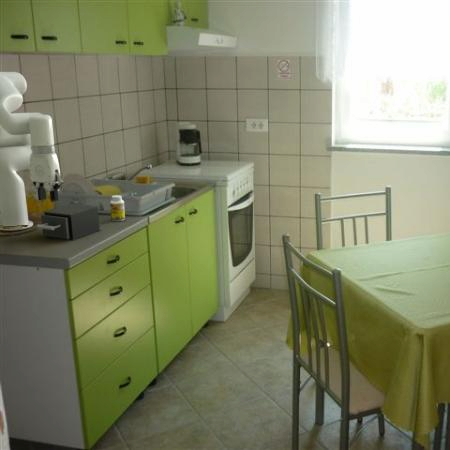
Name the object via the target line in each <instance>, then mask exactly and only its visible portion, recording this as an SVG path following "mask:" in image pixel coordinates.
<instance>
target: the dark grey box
mask: <svg viewBox="0 0 450 450" xmlns="http://www.w3.org/2000/svg"><path fill="white" fill-rule="evenodd" d="M43 213H44V214H43V215H48V214H51V215H59V216H67V217H69V218H70V229H71V236H69V237H70V238H69V239H68V240H70V241H74V240H77V239H80V238H83V237H85V236H88V235H91V234H93V233H97V232H98V231H100V220H99V219H100V217H99V208H98V206H97V205H89V204H88V205H87V204H80V203H69V204H66V205H65V204H64V205H62V206H58V207H54V208H52V209H48V210H44V211H43Z"/></svg>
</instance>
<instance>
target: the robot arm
mask: <svg viewBox="0 0 450 450" xmlns="http://www.w3.org/2000/svg"><path fill="white" fill-rule="evenodd" d="M27 89H28V83H27V80H26V79H25V77H24V75H22V73H20V72H17V71H0V225H3V226H17V225H28V226H27V227H22V228H15V229H3V228H0V231H6V232H7V231H8V232H10V231H11V232H13V231H14V232H15V231H21V230H22V231H23V230H26V229H29V228H32V227H33V226H34V222H33V221H31V220H29V213H28V205H27V196H26V188H25V182H24V180H23V178H22V177H21V176H20V175H19V174H18V173H17V172H22V171H28V170H29V176H30V177H29V181H30V182H31V183H32V184H33V185H34V187H35V190H37V199H38V201H43V200H44V201H45V200H47V190H46V187H45V184H48V185H49V189H50V190H49V198H50V202H51V203H54V202H58V201H59V190H60V187H61V186H62V185H63V184H64V183H65V181H64V179H63V178H62V176H61V169H60V163H59V158H58V156H57V153H56V147H55V137H54V135H55V134H54V126H53V118H52V116H51V115H49V114H45V113H44V114H43V113H42V112H16V113H13V112H15V111H17V110H18V109H19V108H20V107H21V106H22V104H23V102H24V97H23V95H24V94H25V93H26V91H27Z"/></svg>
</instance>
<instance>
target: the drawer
mask: <svg viewBox="0 0 450 450" xmlns="http://www.w3.org/2000/svg"><path fill="white" fill-rule="evenodd" d="M40 219H41V224H37V225H36V228H37V229H40V230H42V236H43V237H49V238H57V239H62V240H69V238H70V237H69V236H71V229H70V218H69V217H67V216H59V215H51V214H48V215H44V214H41V215H40Z"/></svg>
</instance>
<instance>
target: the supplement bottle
mask: <svg viewBox="0 0 450 450" xmlns="http://www.w3.org/2000/svg"><path fill="white" fill-rule="evenodd" d="M109 207H110V208H109V209H110V217H111V218H110V220H111V221H112V222H124V221H125V220H126V210H125V201H124V200H123V197H122V195H120V194H119V195H118V194H115V195H112V196H111V200H110V202H109Z"/></svg>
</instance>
